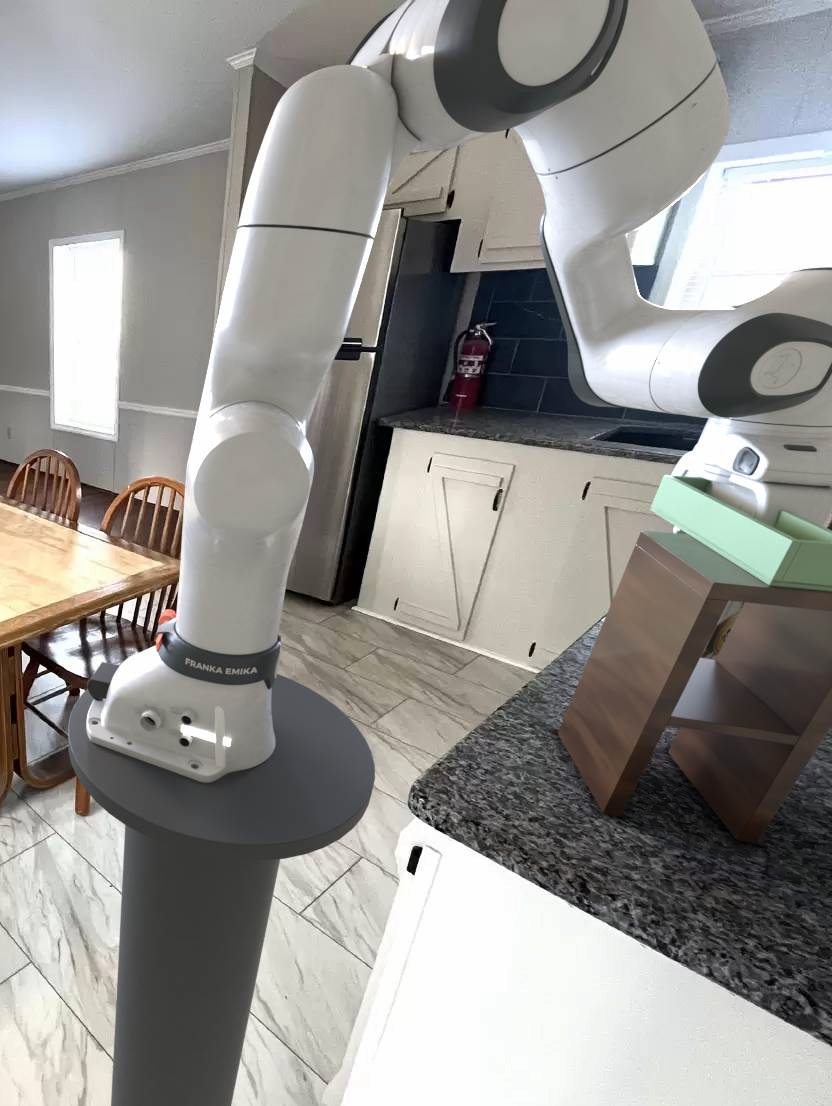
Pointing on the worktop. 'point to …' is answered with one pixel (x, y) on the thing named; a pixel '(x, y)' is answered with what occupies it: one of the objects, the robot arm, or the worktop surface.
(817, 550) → the storage tray
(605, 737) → the shelf stand
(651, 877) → the worktop surface
